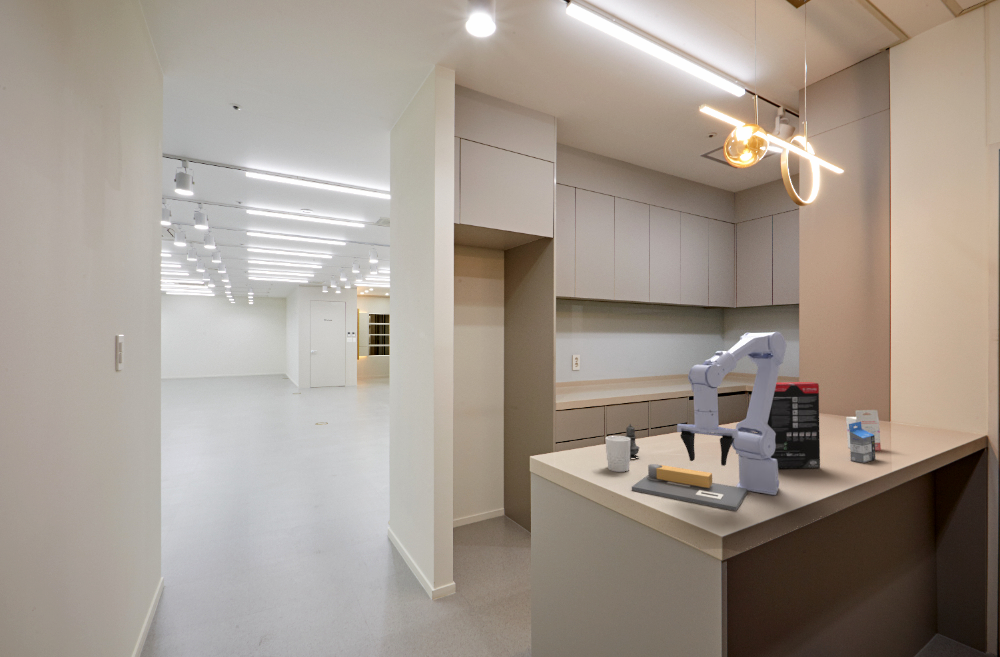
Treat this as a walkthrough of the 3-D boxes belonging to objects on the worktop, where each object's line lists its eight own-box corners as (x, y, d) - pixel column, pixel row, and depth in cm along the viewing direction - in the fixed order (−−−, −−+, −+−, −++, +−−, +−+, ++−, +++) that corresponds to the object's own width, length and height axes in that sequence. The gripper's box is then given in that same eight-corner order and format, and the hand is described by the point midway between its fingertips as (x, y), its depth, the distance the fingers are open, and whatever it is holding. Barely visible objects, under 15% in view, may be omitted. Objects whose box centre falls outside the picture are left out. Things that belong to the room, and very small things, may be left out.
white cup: (622, 464, 146) (621, 434, 146) (636, 471, 139) (635, 439, 139) (601, 467, 144) (600, 436, 144) (615, 473, 136) (614, 441, 137)
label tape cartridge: (864, 463, 142) (862, 425, 142) (849, 461, 145) (848, 424, 145) (876, 459, 146) (874, 422, 146) (862, 457, 149) (860, 421, 150)
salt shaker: (637, 460, 151) (636, 425, 151) (620, 458, 154) (619, 424, 154) (641, 456, 156) (640, 422, 156) (625, 454, 159) (624, 421, 159)
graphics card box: (807, 463, 144) (804, 380, 145) (823, 469, 137) (819, 382, 138) (756, 464, 143) (753, 381, 144) (770, 470, 136) (767, 383, 137)
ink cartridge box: (869, 447, 162) (867, 407, 162) (881, 450, 157) (879, 410, 157) (846, 448, 162) (845, 408, 162) (857, 451, 157) (856, 410, 157)
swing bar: (712, 483, 120) (712, 473, 120) (709, 487, 117) (708, 476, 117) (651, 473, 131) (650, 463, 131) (646, 476, 128) (646, 466, 128)
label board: (747, 492, 118) (747, 487, 118) (736, 511, 105) (735, 505, 105) (651, 475, 134) (651, 471, 134) (631, 490, 121) (631, 485, 121)
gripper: (672, 410, 116) (674, 461, 115) (733, 415, 106) (735, 470, 106) (680, 406, 121) (682, 455, 121) (739, 411, 112) (741, 464, 111)
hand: (707, 462), depth 114 cm, fingers open, 7 cm apart
